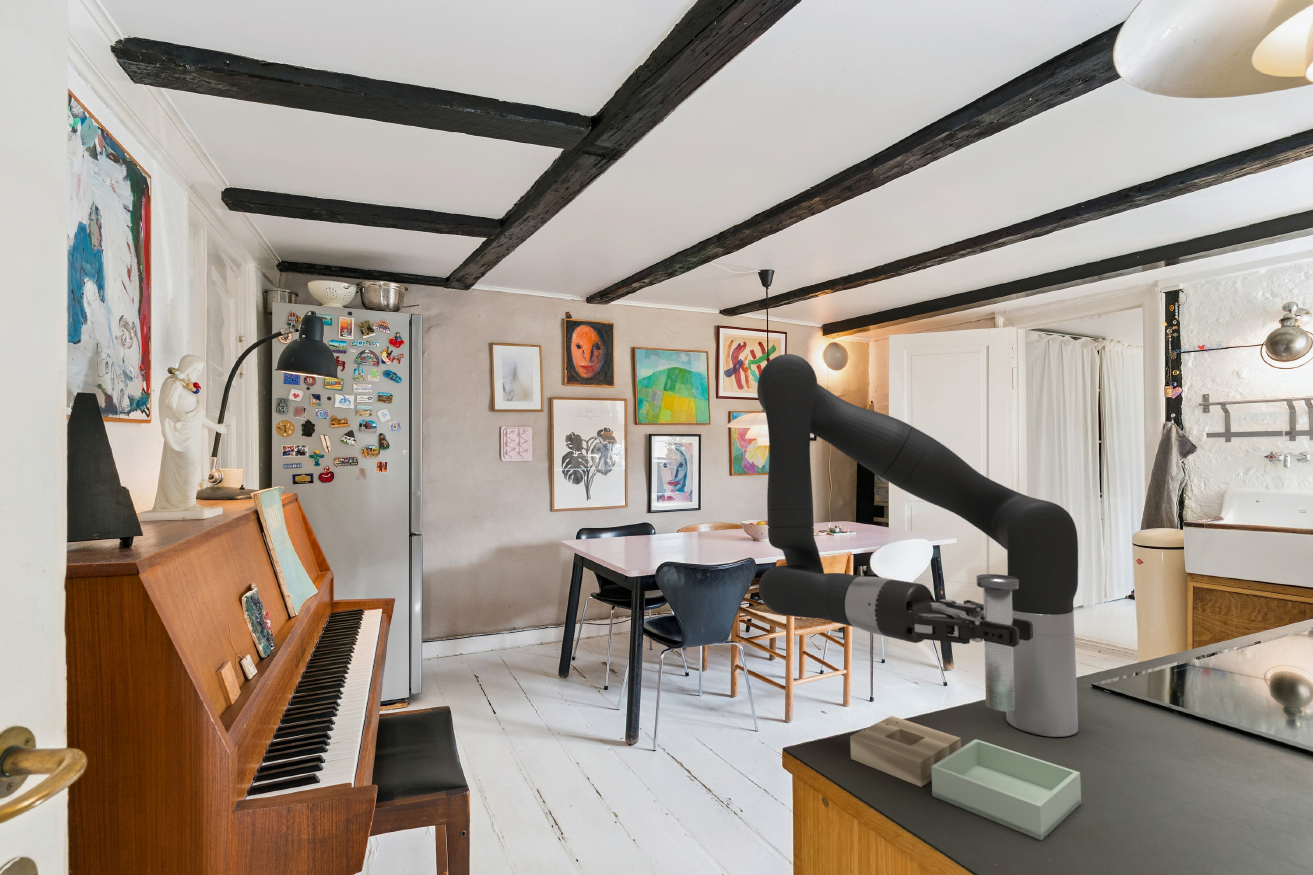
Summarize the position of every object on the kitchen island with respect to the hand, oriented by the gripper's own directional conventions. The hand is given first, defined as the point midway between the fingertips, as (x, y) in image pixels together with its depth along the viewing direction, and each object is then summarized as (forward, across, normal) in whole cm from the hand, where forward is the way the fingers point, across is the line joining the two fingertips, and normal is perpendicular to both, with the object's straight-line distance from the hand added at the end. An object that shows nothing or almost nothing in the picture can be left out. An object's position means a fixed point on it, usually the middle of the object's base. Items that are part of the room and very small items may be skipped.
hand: (1024, 634), depth 76 cm
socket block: (-16, +1, +20) cm, 25 cm away
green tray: (-3, 0, +20) cm, 20 cm away
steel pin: (-3, 0, +9) cm, 9 cm away
